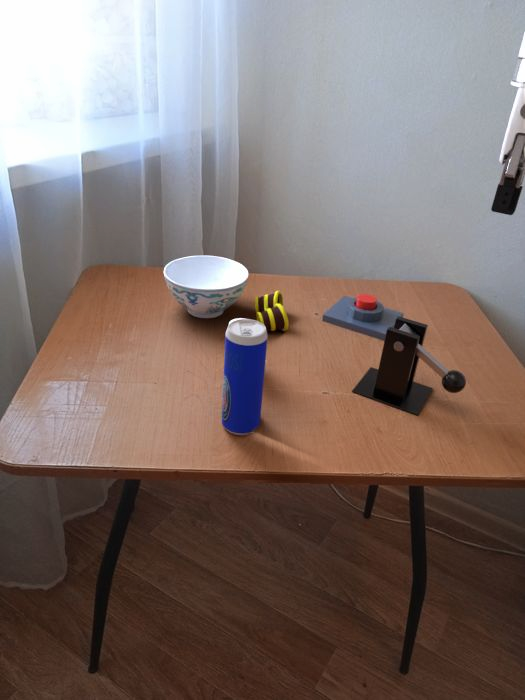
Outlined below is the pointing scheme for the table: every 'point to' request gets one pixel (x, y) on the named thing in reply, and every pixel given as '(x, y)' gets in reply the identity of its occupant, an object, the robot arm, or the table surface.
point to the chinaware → (205, 283)
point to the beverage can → (243, 375)
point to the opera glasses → (271, 311)
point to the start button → (366, 302)
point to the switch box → (361, 317)
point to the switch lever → (440, 368)
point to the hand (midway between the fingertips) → (502, 211)
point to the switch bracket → (397, 370)
